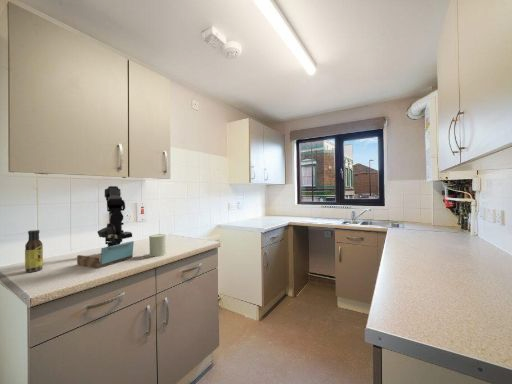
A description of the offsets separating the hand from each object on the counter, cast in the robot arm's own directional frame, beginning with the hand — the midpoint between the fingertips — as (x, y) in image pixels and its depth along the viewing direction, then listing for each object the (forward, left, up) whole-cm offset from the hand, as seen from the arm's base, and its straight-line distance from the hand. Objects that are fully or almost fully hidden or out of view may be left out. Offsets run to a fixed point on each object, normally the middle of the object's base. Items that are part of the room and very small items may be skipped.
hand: (115, 250), depth 123 cm
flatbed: (-8, 0, -7) cm, 10 cm away
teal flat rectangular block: (0, 0, -5) cm, 5 cm away
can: (+9, +20, -7) cm, 23 cm away
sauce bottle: (-27, -23, -7) cm, 36 cm away
